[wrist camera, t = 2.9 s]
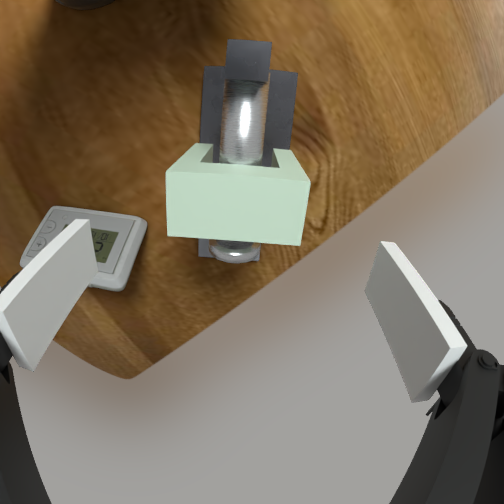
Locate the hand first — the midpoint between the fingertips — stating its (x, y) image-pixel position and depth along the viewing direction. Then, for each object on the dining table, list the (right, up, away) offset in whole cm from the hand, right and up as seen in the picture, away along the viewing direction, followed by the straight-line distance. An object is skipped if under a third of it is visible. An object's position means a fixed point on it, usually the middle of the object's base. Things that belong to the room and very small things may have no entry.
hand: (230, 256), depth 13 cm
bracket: (0, +7, +12) cm, 14 cm away
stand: (0, +14, +20) cm, 24 cm away
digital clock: (-21, +4, +26) cm, 34 cm away
